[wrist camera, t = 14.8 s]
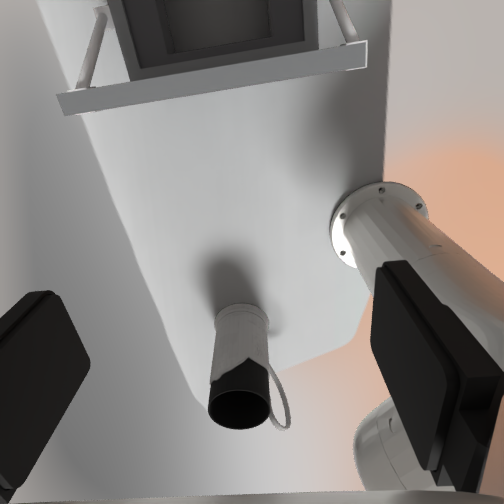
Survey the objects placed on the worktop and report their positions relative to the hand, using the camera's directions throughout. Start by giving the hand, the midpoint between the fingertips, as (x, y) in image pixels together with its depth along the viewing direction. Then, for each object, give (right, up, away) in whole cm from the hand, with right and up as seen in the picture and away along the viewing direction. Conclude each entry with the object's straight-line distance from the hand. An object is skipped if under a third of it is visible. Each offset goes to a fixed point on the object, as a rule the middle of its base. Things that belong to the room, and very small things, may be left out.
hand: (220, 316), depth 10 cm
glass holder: (+1, -11, +43) cm, 45 cm away
